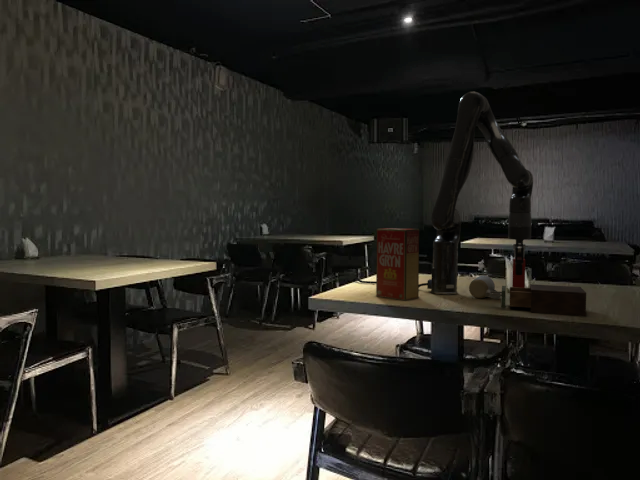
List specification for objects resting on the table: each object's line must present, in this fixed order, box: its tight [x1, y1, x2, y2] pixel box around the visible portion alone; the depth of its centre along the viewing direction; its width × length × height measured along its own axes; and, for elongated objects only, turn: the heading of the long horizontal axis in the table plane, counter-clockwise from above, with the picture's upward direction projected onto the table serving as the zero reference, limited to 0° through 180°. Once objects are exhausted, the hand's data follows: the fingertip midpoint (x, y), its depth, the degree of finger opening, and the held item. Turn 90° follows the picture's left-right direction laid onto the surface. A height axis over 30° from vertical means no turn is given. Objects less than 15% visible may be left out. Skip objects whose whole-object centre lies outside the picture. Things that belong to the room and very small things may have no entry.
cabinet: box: [529, 283, 587, 317], centre depth 156 cm, size 15×13×7 cm
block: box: [511, 258, 526, 288], centre depth 173 cm, size 4×4×10 cm
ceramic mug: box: [468, 274, 501, 300], centre depth 178 cm, size 11×8×8 cm
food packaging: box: [375, 227, 420, 302], centre depth 178 cm, size 13×9×25 cm
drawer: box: [486, 285, 531, 309], centre depth 160 cm, size 19×11×5 cm, turn 69°
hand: (518, 273), depth 173 cm, fingers closed on block, 4 cm apart
